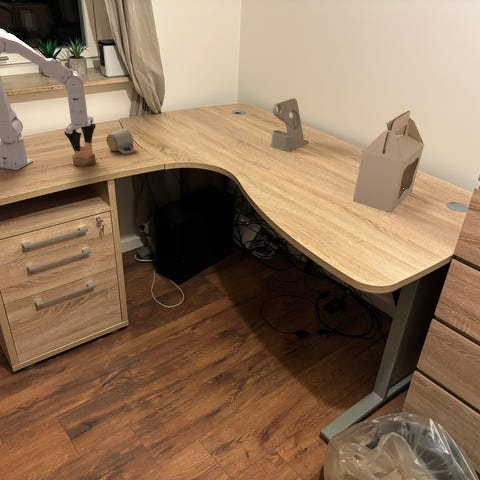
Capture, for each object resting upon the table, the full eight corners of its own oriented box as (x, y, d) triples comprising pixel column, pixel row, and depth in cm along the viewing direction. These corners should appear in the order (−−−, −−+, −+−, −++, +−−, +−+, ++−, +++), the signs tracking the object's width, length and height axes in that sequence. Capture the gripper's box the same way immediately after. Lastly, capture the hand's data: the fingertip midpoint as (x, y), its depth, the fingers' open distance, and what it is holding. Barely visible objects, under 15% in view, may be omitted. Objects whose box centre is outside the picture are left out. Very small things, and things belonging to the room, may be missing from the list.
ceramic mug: (105, 149, 185) (104, 130, 181) (122, 144, 191) (121, 126, 187) (122, 157, 180) (121, 137, 176) (139, 152, 185) (138, 133, 181)
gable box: (376, 180, 173) (393, 104, 158) (412, 191, 166) (433, 112, 152) (352, 201, 157) (368, 118, 142) (390, 213, 150) (411, 127, 136)
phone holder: (288, 152, 193) (292, 108, 184) (268, 146, 198) (271, 103, 189) (309, 142, 205) (315, 101, 196) (290, 137, 210) (295, 96, 201)
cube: (86, 159, 169) (85, 147, 167) (75, 157, 170) (73, 145, 167) (92, 154, 173) (91, 142, 170) (81, 153, 174) (80, 141, 171)
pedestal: (88, 169, 169) (87, 161, 167) (68, 165, 170) (67, 157, 169) (100, 161, 175) (99, 153, 174) (80, 158, 177) (80, 150, 175)
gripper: (76, 116, 156) (81, 155, 163) (99, 105, 168) (103, 142, 175) (57, 113, 157) (63, 152, 164) (81, 103, 169) (86, 139, 176)
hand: (82, 147), depth 170 cm, fingers open, 7 cm apart
